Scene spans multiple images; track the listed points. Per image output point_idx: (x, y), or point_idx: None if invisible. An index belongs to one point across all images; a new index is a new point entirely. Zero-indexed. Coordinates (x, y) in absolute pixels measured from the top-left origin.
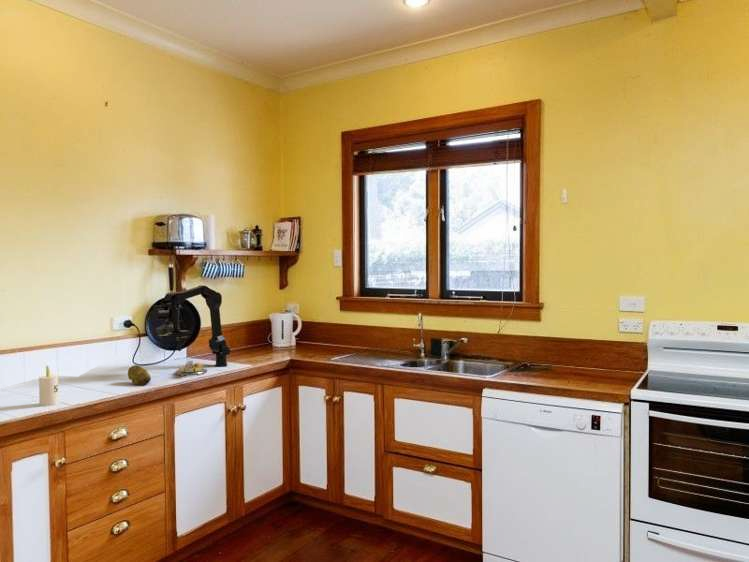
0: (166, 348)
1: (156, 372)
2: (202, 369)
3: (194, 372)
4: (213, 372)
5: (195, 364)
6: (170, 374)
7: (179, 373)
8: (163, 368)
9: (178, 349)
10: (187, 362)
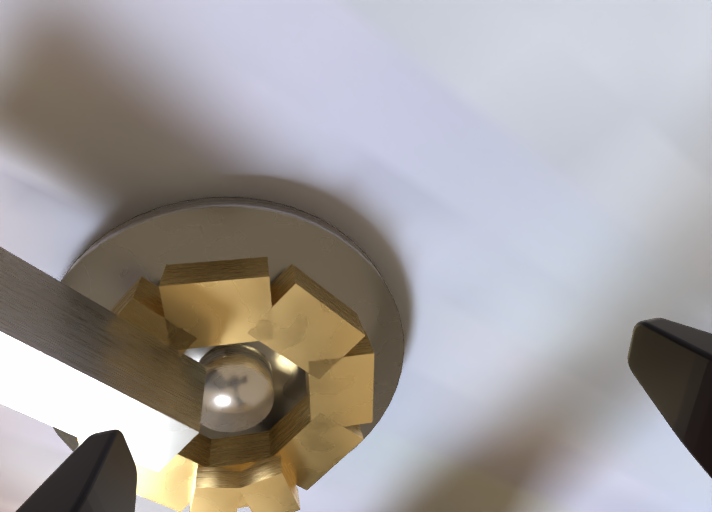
0: (655, 348)
1: (583, 135)
2: None
3: None
4: None
5: (258, 474)
6: (352, 173)
7: (185, 209)
8: (664, 294)
9: (73, 467)
10: (70, 372)
